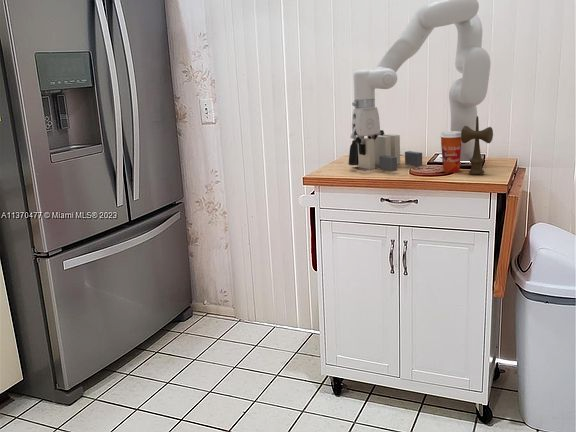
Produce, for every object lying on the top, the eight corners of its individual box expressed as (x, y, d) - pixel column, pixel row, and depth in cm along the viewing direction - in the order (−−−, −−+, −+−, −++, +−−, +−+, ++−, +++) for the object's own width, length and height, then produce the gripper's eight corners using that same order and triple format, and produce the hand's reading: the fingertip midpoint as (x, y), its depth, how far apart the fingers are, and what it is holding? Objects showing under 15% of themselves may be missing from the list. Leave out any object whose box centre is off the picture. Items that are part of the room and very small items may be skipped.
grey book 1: (397, 173, 217) (396, 157, 215) (392, 174, 216) (391, 158, 214) (385, 171, 223) (384, 155, 221) (379, 172, 221) (379, 156, 220)
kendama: (466, 171, 212) (466, 114, 206) (493, 173, 206) (494, 115, 201) (459, 174, 207) (460, 116, 202) (487, 176, 201) (488, 117, 196)
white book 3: (400, 163, 228) (399, 135, 225) (395, 164, 227) (394, 135, 224) (388, 161, 234) (388, 133, 231) (383, 162, 233) (383, 134, 230)
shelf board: (401, 167, 228) (401, 164, 228) (364, 174, 220) (364, 170, 220) (386, 164, 236) (386, 161, 235) (350, 170, 228) (350, 167, 227)
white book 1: (374, 168, 223) (374, 139, 220) (369, 169, 221) (368, 139, 219) (363, 166, 229) (362, 137, 226) (358, 167, 227) (357, 138, 225)
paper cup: (438, 173, 212) (438, 134, 208) (441, 169, 219) (441, 131, 215) (461, 173, 209) (461, 133, 205) (463, 169, 216) (464, 130, 212)
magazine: (351, 146, 228) (384, 114, 248) (344, 145, 230) (377, 114, 250) (359, 185, 236) (390, 151, 256) (352, 184, 238) (383, 151, 258)
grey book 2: (422, 168, 222) (422, 152, 221) (417, 169, 221) (417, 153, 220) (409, 166, 228) (409, 150, 227) (405, 167, 227) (404, 151, 225)
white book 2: (391, 165, 226) (390, 136, 223) (386, 166, 225) (385, 137, 222) (379, 163, 232) (378, 135, 229) (374, 164, 231) (373, 135, 228)
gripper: (352, 106, 212) (354, 157, 217) (388, 102, 220) (389, 152, 224) (340, 106, 218) (342, 155, 223) (376, 101, 226) (377, 150, 231)
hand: (366, 153), depth 224 cm, fingers open, 3 cm apart
